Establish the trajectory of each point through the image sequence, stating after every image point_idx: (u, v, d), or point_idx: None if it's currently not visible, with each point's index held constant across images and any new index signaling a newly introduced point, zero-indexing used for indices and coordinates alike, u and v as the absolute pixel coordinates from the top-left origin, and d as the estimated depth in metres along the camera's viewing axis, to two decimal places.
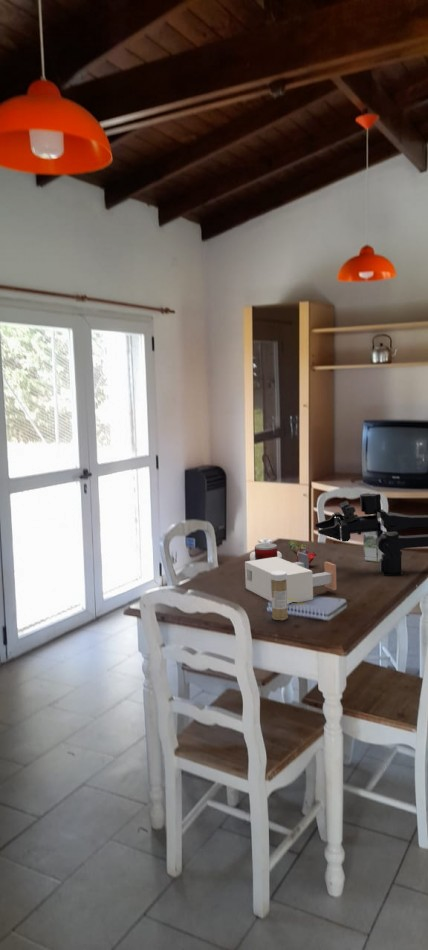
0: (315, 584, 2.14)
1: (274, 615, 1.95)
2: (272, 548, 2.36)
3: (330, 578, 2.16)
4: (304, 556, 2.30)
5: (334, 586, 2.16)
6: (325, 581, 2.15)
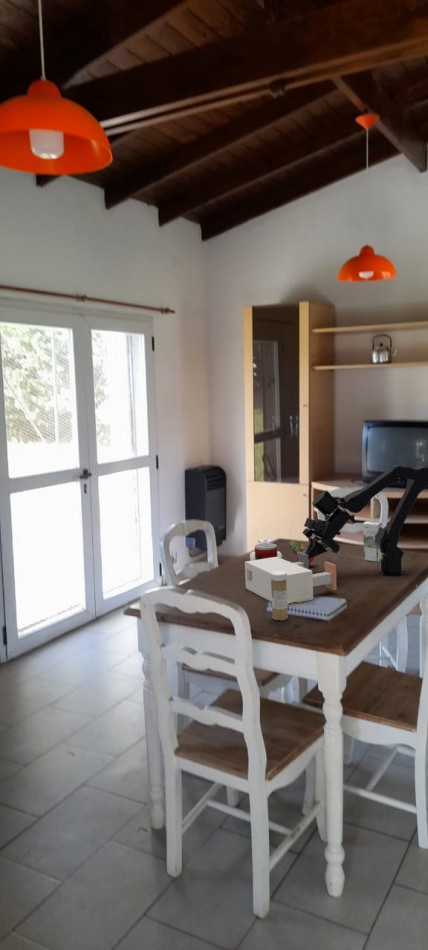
0: (315, 584, 2.14)
1: (274, 615, 1.95)
2: (272, 548, 2.36)
3: (330, 578, 2.16)
4: (304, 556, 2.30)
5: (334, 586, 2.16)
6: (325, 581, 2.15)
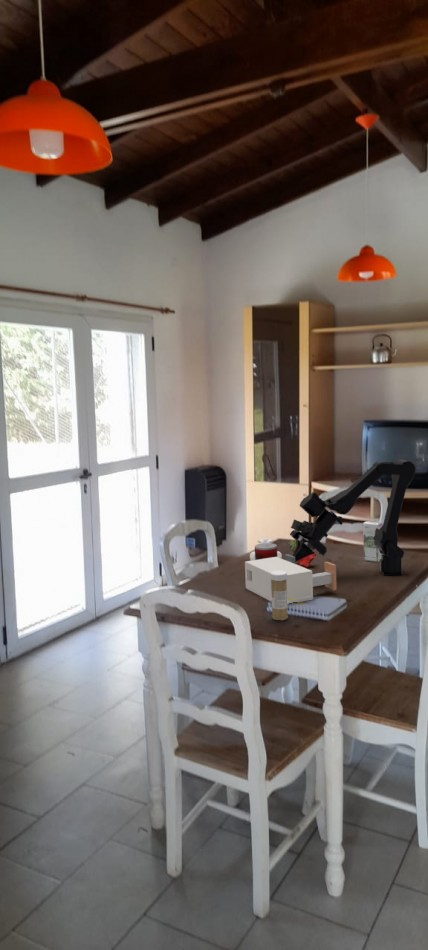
0: (315, 584, 2.14)
1: (274, 615, 1.95)
2: (272, 548, 2.36)
3: (330, 578, 2.16)
4: (291, 558, 2.28)
5: (334, 586, 2.16)
6: (325, 581, 2.15)
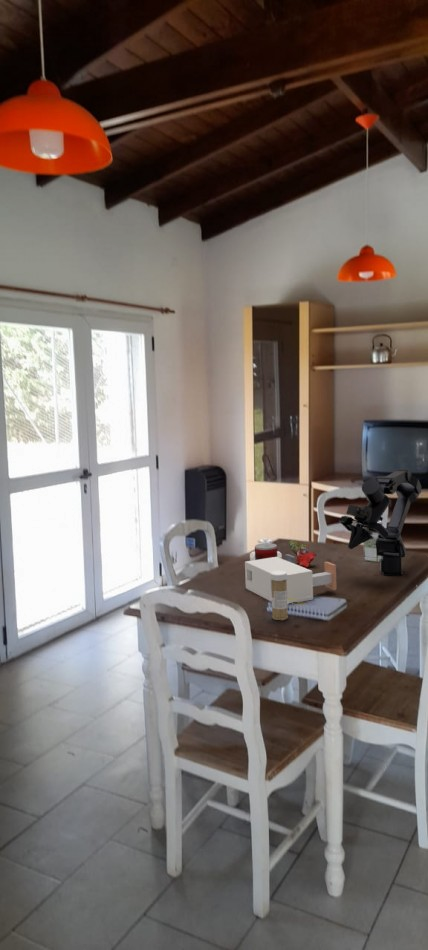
0: (315, 584, 2.14)
1: (274, 615, 1.95)
2: (272, 548, 2.36)
3: (330, 578, 2.16)
4: (291, 558, 2.28)
5: (334, 586, 2.16)
6: (325, 581, 2.15)
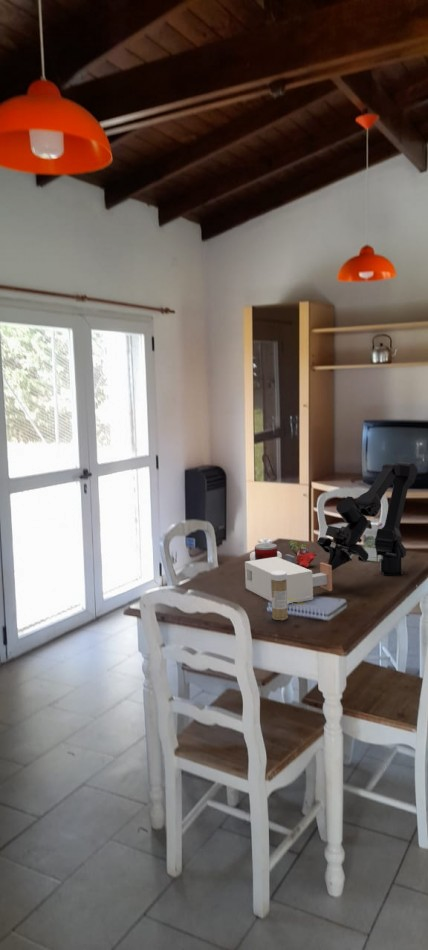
0: None
1: (274, 615, 1.95)
2: (272, 548, 2.36)
3: (326, 579, 2.15)
4: (291, 558, 2.28)
5: (330, 587, 2.15)
6: (321, 582, 2.15)
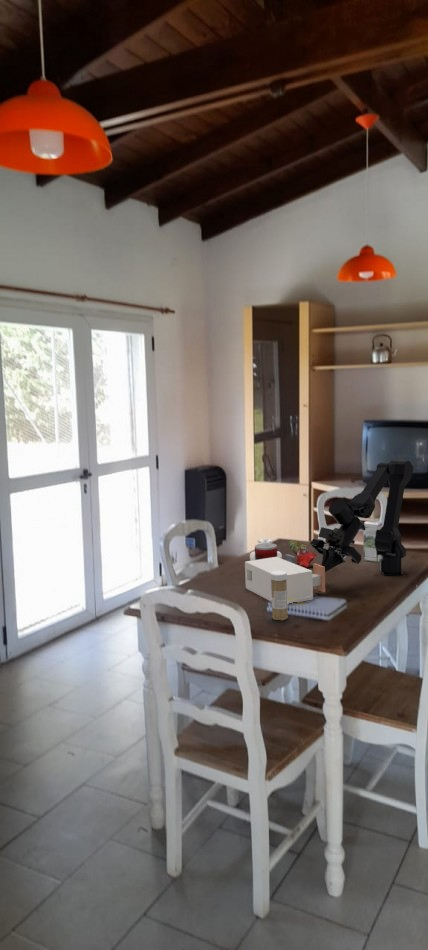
0: None
1: (274, 615, 1.95)
2: (272, 548, 2.36)
3: (319, 580, 2.14)
4: (291, 558, 2.28)
5: (323, 588, 2.14)
6: (314, 583, 2.14)
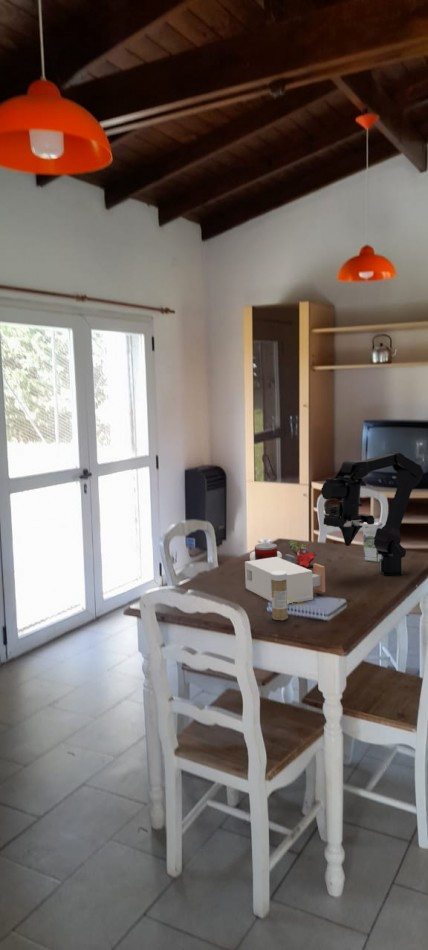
0: None
1: (274, 615, 1.95)
2: (272, 548, 2.36)
3: (319, 580, 2.14)
4: (291, 558, 2.28)
5: (323, 588, 2.14)
6: (314, 583, 2.14)
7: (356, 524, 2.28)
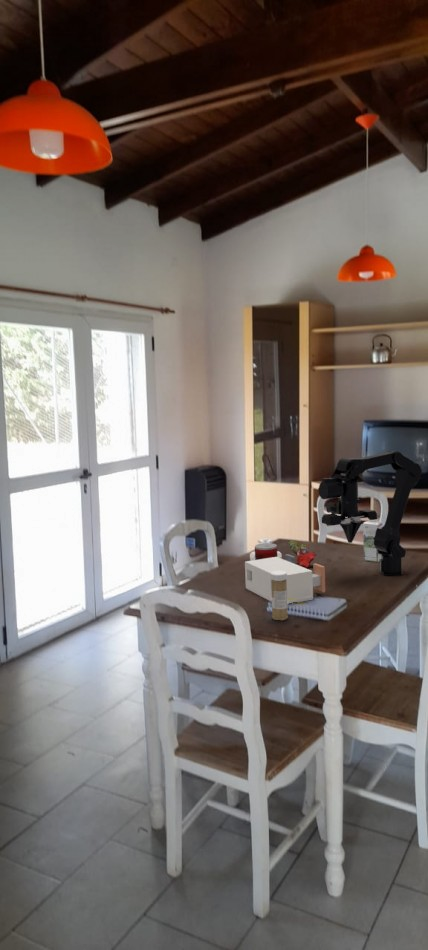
0: None
1: (274, 615, 1.95)
2: (272, 548, 2.36)
3: (319, 580, 2.14)
4: (291, 558, 2.28)
5: (323, 588, 2.14)
6: (314, 583, 2.14)
7: (357, 521, 2.28)
